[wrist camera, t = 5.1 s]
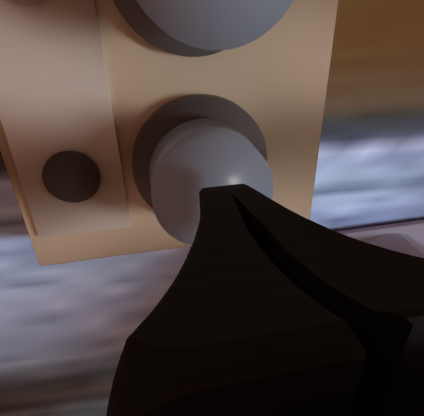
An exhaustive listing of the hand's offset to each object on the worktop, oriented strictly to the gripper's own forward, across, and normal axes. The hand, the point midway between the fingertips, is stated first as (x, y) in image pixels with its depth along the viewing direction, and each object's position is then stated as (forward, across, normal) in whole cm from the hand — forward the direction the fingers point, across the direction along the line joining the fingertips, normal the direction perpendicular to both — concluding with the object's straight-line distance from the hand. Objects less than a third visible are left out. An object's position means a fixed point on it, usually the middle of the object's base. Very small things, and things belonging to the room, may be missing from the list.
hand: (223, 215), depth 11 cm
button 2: (+3, 0, 0) cm, 3 cm away
